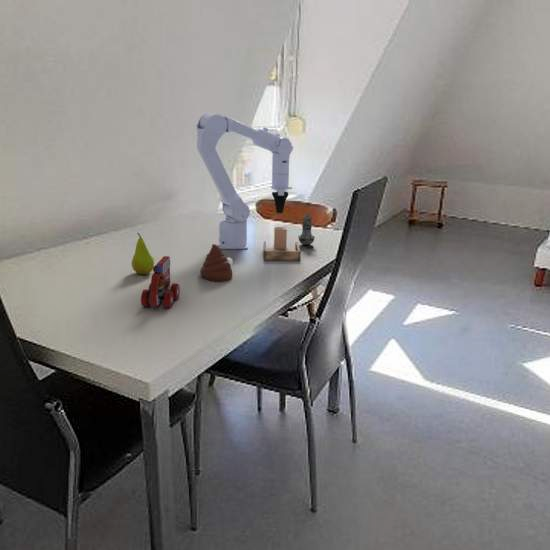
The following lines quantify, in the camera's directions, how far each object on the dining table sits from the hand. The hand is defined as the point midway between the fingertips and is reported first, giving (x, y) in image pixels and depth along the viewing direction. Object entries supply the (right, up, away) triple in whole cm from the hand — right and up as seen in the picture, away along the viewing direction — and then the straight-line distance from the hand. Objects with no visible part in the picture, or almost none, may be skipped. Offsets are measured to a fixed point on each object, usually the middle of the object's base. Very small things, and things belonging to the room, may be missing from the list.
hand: (279, 212), depth 172 cm
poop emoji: (-18, -23, -34) cm, 45 cm away
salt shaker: (+9, -12, -3) cm, 16 cm away
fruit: (-39, -22, -33) cm, 56 cm away
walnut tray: (0, -15, -13) cm, 20 cm away
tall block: (0, -13, -5) cm, 14 cm away
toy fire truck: (-29, -29, -54) cm, 68 cm away
